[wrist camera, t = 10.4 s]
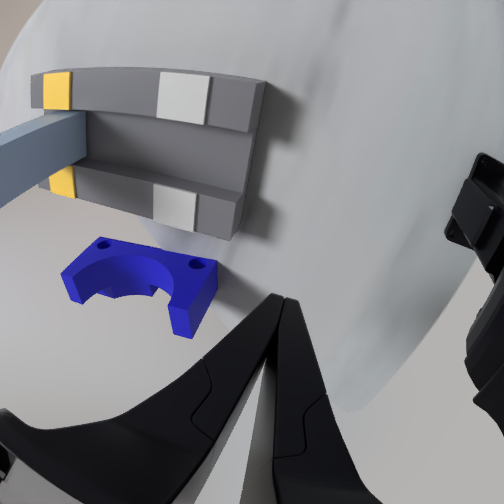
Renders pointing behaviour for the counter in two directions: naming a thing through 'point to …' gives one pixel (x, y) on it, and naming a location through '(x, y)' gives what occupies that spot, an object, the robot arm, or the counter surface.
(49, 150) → the tab
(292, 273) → the counter surface
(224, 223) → the switch housing
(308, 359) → the robot arm
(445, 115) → the counter surface
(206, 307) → the cable clip
